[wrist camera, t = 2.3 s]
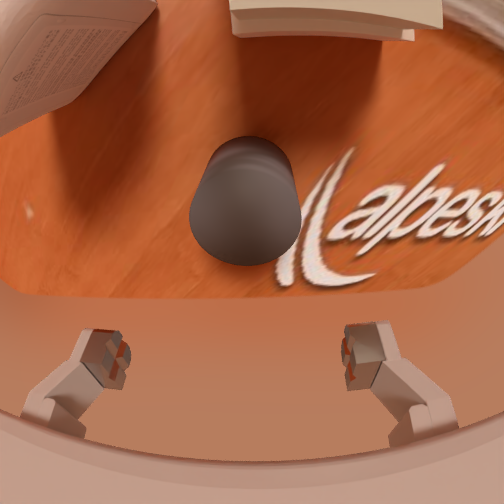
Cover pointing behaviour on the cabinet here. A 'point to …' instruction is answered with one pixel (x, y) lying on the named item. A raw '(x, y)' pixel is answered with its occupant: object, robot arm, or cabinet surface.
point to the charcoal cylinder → (246, 203)
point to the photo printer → (58, 50)
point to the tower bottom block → (317, 29)
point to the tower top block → (346, 11)
